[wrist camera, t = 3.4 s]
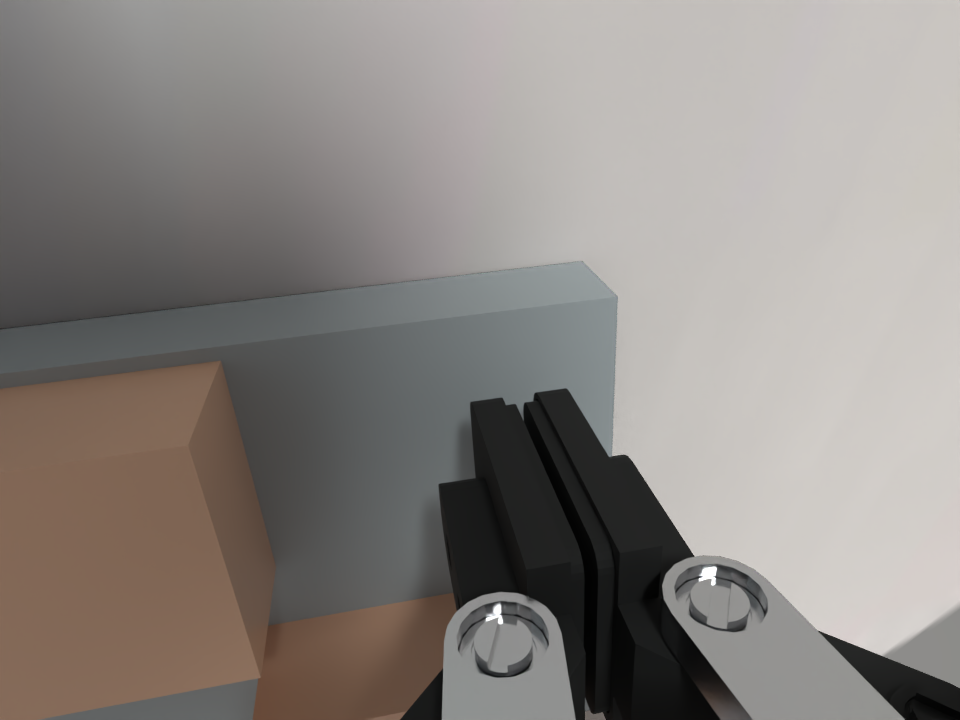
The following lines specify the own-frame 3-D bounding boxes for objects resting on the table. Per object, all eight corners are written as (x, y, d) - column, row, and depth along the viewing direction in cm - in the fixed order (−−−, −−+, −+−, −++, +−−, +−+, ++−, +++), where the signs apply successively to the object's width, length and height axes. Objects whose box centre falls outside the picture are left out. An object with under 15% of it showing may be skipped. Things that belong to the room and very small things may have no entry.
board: (-258, 360, 11) (-370, 420, 10) (582, 261, 13) (617, 296, 12) (-7, 755, 16) (-50, 842, 15) (578, 642, 18) (602, 707, 17)
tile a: (-81, 398, 10) (-198, 500, 8) (220, 360, 11) (188, 445, 9) (27, 608, 12) (-43, 734, 10) (276, 566, 13) (260, 677, 11)
